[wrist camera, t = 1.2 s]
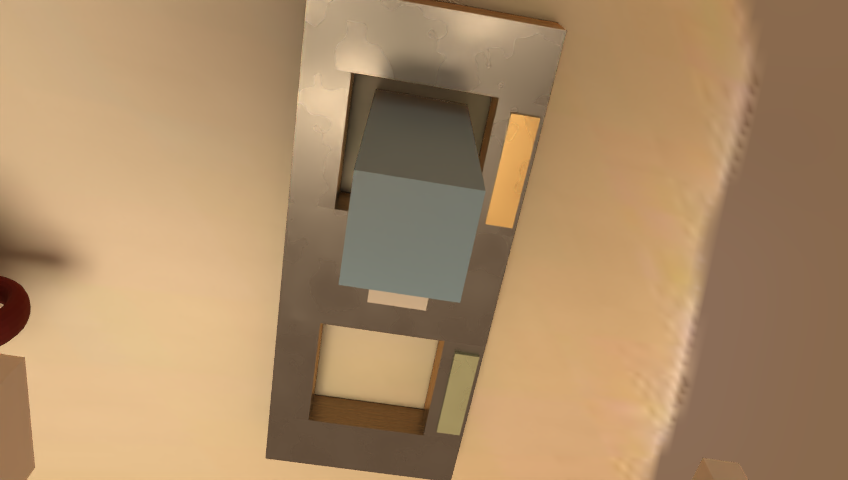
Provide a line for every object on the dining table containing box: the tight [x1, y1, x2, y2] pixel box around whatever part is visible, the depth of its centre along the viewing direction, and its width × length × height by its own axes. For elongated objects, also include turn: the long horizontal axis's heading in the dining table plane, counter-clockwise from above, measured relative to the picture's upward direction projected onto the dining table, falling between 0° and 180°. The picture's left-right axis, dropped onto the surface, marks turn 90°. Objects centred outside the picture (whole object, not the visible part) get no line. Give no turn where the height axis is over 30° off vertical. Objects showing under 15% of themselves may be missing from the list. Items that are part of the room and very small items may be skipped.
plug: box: [339, 89, 486, 311], centre depth 26 cm, size 5×4×10 cm
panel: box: [266, 0, 567, 480], centre depth 31 cm, size 24×10×2 cm, turn 170°
